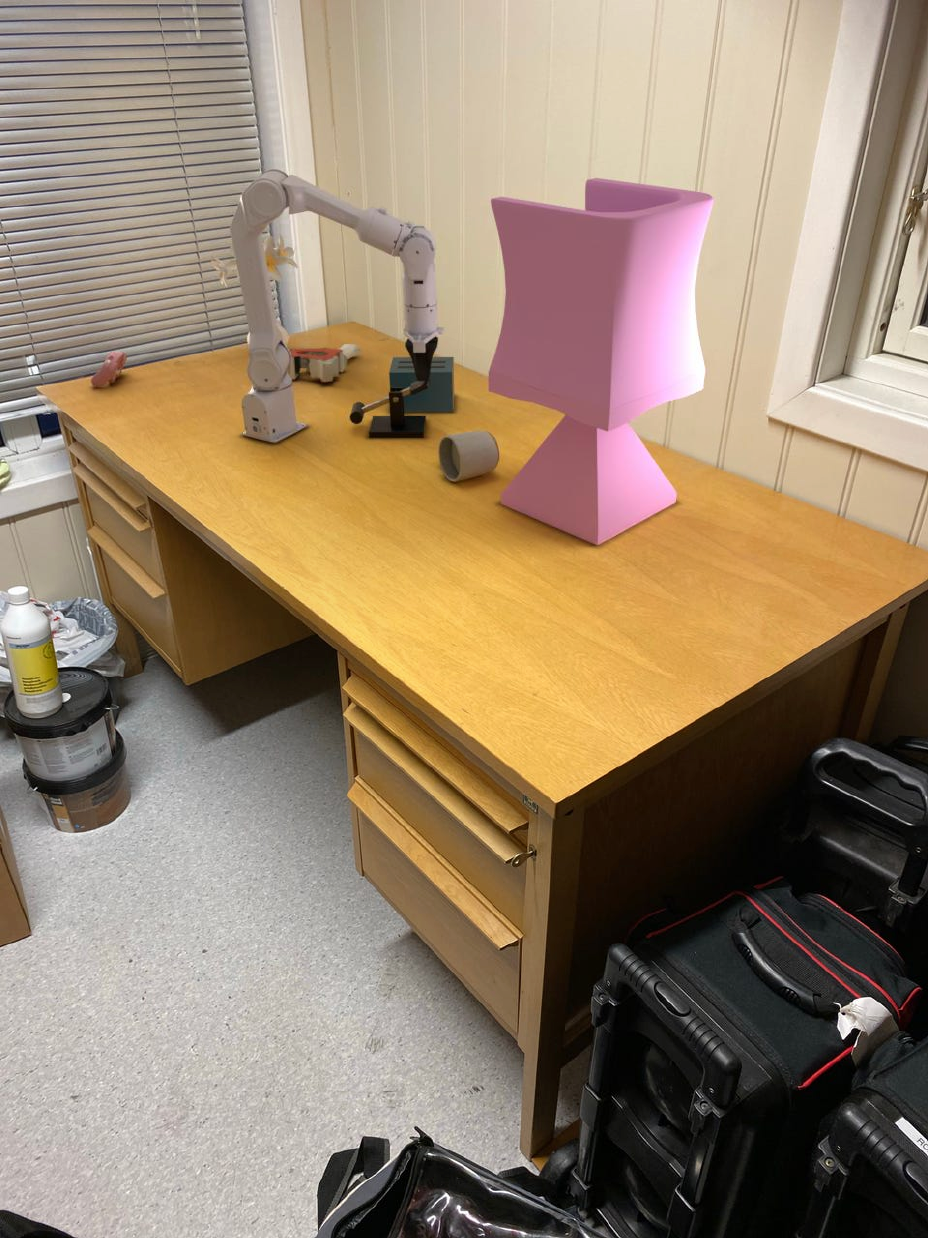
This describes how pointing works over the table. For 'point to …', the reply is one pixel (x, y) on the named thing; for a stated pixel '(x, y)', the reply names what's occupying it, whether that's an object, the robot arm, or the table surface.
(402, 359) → the toaster
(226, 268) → the flower vase
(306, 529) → the table surface
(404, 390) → the lever
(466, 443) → the ceramic mug
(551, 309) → the pink tall piece
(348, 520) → the table surface
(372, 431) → the bracket
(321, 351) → the red grey lobed slab
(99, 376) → the pink lumpy figure
